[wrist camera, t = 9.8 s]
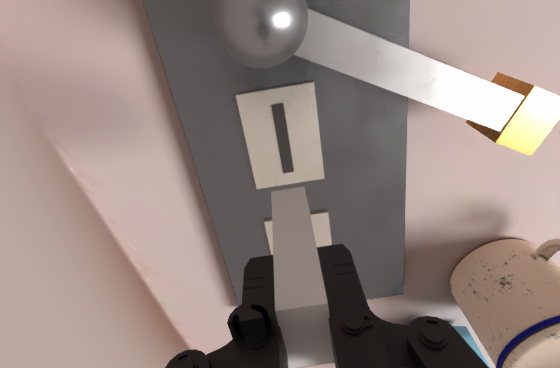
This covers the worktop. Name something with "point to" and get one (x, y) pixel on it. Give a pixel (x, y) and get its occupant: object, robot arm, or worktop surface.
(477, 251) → the teacup with lid
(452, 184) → the worktop surface
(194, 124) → the plate
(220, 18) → the grey bar
